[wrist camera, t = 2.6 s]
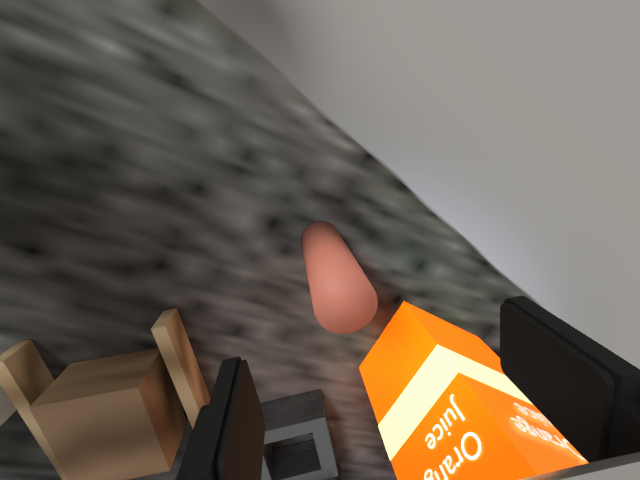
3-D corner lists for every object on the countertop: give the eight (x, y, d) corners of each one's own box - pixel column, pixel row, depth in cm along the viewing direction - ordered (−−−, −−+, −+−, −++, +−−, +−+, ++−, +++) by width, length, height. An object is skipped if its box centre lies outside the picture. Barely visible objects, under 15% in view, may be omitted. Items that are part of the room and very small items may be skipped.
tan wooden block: (72, 361, 24) (28, 407, 20) (162, 345, 25) (137, 387, 21) (106, 435, 27) (73, 490, 23) (187, 419, 28) (170, 470, 23)
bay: (17, 342, 23) (-13, 364, 21) (176, 307, 24) (165, 325, 21) (112, 503, 29) (98, 535, 27) (238, 471, 30) (234, 500, 27)
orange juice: (404, 299, 26) (726, 713, 7) (480, 336, 28) (881, 728, 9) (357, 369, 28) (518, 855, 9) (432, 399, 30) (692, 841, 11)
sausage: (297, 225, 23) (308, 283, 14) (336, 217, 23) (373, 269, 14) (305, 262, 24) (320, 339, 15) (342, 254, 24) (381, 325, 15)
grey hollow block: (242, 407, 27) (233, 462, 23) (322, 388, 28) (331, 438, 23) (273, 499, 31) (271, 563, 27) (343, 482, 32) (354, 541, 27)
